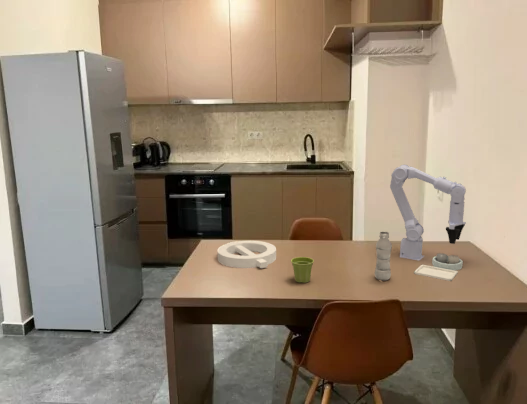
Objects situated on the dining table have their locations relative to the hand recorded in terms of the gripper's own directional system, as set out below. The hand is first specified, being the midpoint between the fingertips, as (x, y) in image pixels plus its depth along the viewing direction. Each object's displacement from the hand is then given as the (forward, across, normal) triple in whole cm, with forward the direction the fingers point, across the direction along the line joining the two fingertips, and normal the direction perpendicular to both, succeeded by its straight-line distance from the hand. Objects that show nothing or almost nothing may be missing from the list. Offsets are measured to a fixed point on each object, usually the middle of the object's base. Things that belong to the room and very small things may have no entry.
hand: (454, 241), depth 197 cm
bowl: (+10, -6, +1) cm, 12 cm away
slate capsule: (+10, -6, +3) cm, 12 cm away
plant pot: (+11, -55, +46) cm, 72 cm away
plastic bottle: (+11, -36, +19) cm, 42 cm away
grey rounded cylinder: (+10, -6, -2) cm, 12 cm away
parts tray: (+10, -18, +2) cm, 21 cm away
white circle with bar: (+11, -45, +83) cm, 95 cm away
